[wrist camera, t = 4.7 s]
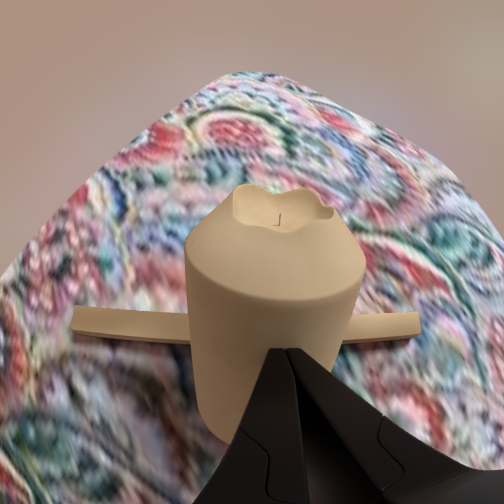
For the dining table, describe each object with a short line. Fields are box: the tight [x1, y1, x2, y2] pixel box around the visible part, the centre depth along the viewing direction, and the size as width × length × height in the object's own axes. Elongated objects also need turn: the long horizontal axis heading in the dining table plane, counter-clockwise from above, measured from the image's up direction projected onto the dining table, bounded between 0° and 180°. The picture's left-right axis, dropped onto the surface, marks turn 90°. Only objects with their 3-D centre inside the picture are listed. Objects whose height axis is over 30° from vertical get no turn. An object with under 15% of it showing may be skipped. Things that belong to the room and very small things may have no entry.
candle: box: [184, 184, 366, 444], centre depth 11 cm, size 6×6×10 cm
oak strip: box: [71, 305, 422, 345], centre depth 16 cm, size 1×20×1 cm, turn 90°
